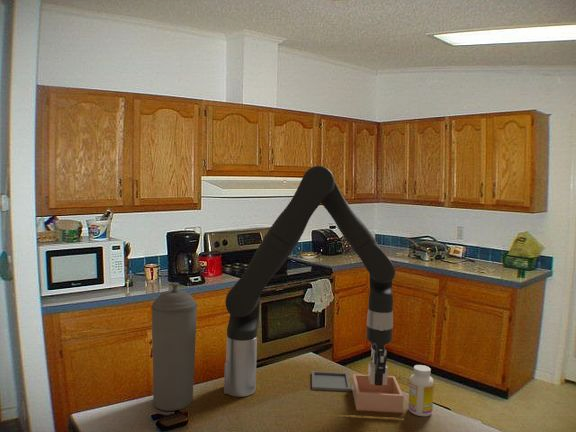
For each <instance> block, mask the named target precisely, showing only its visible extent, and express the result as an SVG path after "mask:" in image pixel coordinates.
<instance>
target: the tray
mask: <svg viewBox="0 0 576 432" xmlns="http://www.w3.org/2000/svg"><path fill="white" fill-rule="evenodd" d="M311 390H314V391H329V392H330V391H331V392H332V391H334V392H348V393H349V392H352V386H351V383H350V377H349V373H348V372H339V371H338V372H337V371H322V370H321V371H320V370H311Z"/></svg>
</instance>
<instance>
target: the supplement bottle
mask: <svg viewBox="0 0 576 432" xmlns="http://www.w3.org/2000/svg"><path fill="white" fill-rule="evenodd" d="M431 371H432V369H431V368H430V367H429V366H428V365H423V364H415V365H414V366H413V374H411V375H410V377H409V386H408V387H409V388H408V410H409V412H410V413H412V414H413V415H415V416H417V417H418V416H419V417H429V416H431V415H432V414H433V407H434V405H433V404H434V386H435V385H434V383H435V382H434V378H433V377H432V376H431V373H432V372H431Z"/></svg>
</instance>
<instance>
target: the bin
mask: <svg viewBox="0 0 576 432" xmlns="http://www.w3.org/2000/svg"><path fill="white" fill-rule="evenodd" d="M351 379H352V381H351V382H352V383H351V392H352V396H353V399H354V400H353V401H354V406H355V410H356V411H361V412H365V411H366V412H381V413H397V414H399V413H400V414H401V413H402V414H403V411H404V394H403V392H402V390H401V387H400V385H399V382H398V381H397V378H396V376H395V375H388V377H387V385H381V386H379V385H375V384H370V383H369V380H368V374H360V373H358V374H355V373H353V374H352V378H351Z"/></svg>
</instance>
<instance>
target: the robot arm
mask: <svg viewBox="0 0 576 432" xmlns="http://www.w3.org/2000/svg"><path fill="white" fill-rule="evenodd" d="M320 205H322V206H323V207H324V209H325V210H326V211H327V213H328V214H329V215H330V216H331V218H332V219H333V221H334V223H335V224H336V227H337V228H338V229H339V231H340V233H341V234H342V236H343V238H344V239H345V240H346V242H347V243H348V245H349V247H350V248H351V249H352V250H353V252H354V253H355V254H356V255H357V256H358V258H359V259H360V261H361V262H362V264H363V265H364V267H365V269H366V270H367V272H368V273H369V277H368V278H369V295H368V308H367V316H366V332H365V333H366V334H365V336H366V337H365V338H366V340H367V342H369V343H371V346H370V349H371V354H370V356H371V357H370V359H371V362H373V363H374V364H375V385H379V386H381V385H382V384H383V374H385V369H386V365H387V359H388V357H387V348H386V345H387V344H391V343H392V342H393V332H394V331H393V330H394V313H393V312H394V311H393V310H394V293H393V280H394V278H395V276H396V268H395V265H394V263H393V261H392V260H391V259H390V258H389V257H388V256H387V254H386V253H385V252H384V251H383V249H382V248H381V247H380V246H379V243H378V242H377V240H376V238H375V237H374V235H373V234H372V233H371V231H370V230H369V228H368V227H367V226H366V224H365V223H364V222H363V221H362V219H361V218H360V217H359V216H358V214H357V213H356V212H355V211H354V209H352V207H351V206H350V205H349V203H348V202H347V200H346V198H345V197H344V195H343V194H342V193H341V190H340V188H339V186H338V184H337V182H336V180H335V175H334V174H333V172H332V171H331V170H330V169H329V168H327V167H326V166H323V165H315V166H311V167H309V168H308V169H307V170H306V171H305V172H304V174H303V176H302V179H301V180H300V183H299V185H298V187H297V189H296V191H294V194H293V196H292V198H291V199H290V201H289V203H288V204H287V206H286V207H285V208H284V209H283V211H282V212H281V213H280V214H279V215H278V216H277V218H276V219H275V221H274V222H273V223H272V225H271V226H270V228H269V229H268V231H267V232H266V234H265V235H264V237H263V239H262V241H261V242H260V244H259V245H258V247H257V249H256V251H255V253H254V254H253V256H252V259H251V260H250V262H249V264H248V267H247V268H246V270H245V271H244V273H243V274H241V276H240V277H239V279H238V280H237V281H236V283H235V284H234V285H233V286H232V288H230V290H228V292H227V294H226V296H225V300H224V301H225V303H224V304H225V308H226V311H227V312H228V314H229V319H228V324H227V327H226V355H225V357H226V358H225V362H224V379H223V387H224V388H223V394H227V395H229V396H231V397H239V398H240V397H241V398H243V397H248V396H252V394H254V393H255V392H256V387H257V383H256V382H257V355H258V354H257V353H258V349H257V348H258V347H257V346H258V328H259V324H260V323H259V321H260V307H261V306H260V304H261V302H260V301H261V295H262V293H263V291H264V289H265V287H266V286H267V285H268V283H269V281H270V280H271V279H272V278H273V277H274V275H275V274H277V272H278V271H279V270H280V269H281V268H282V266H283V265H284V264H285V262H286V261H287V260H288V258H289V257H290V256H291V254H292V252H293V251H294V250H295V248H296V246H297V245H298V242H299V241H300V240H301V237H302V235H303V234H304V231H305V230H306V227H307V225H308V223H309V221H310V219H311V217H312V216H313V214H314V212H315V211H316V210H317V208H318V207H319V206H320ZM379 367H380V368H382V369H379Z"/></svg>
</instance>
